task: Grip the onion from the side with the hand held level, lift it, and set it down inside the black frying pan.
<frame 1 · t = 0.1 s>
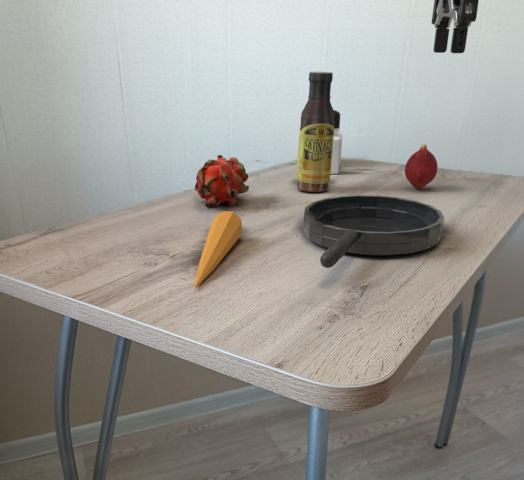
hand: (448, 52, 96), 22 cm above the table, tool pointing down, fingers open, 8 cm apart
pan: (370, 236, 79), on the table
carrot: (212, 262, 71), on the table
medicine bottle: (322, 171, 119), on the table
dragon fruit: (221, 205, 95), on the table
onion: (418, 190, 103), on the table
sauce bottle: (313, 190, 104), on the table
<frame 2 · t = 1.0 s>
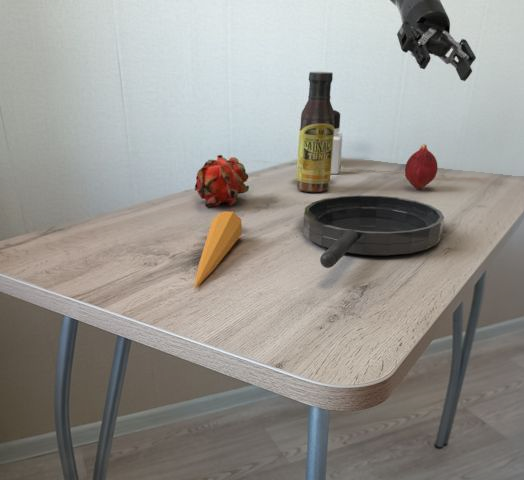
hand: (446, 70, 96), 20 cm above the table, tool tilted 60°, fingers open, 8 cm apart
nothing on the table moved.
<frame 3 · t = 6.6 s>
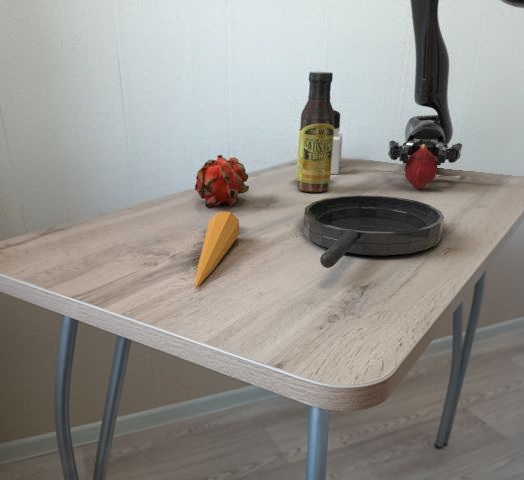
hand: (422, 158, 98), 6 cm above the table, tool horizontal, fingers closed on onion, 5 cm apart
onion: (418, 190, 103), on the table, touching gripper
everything else where it was.
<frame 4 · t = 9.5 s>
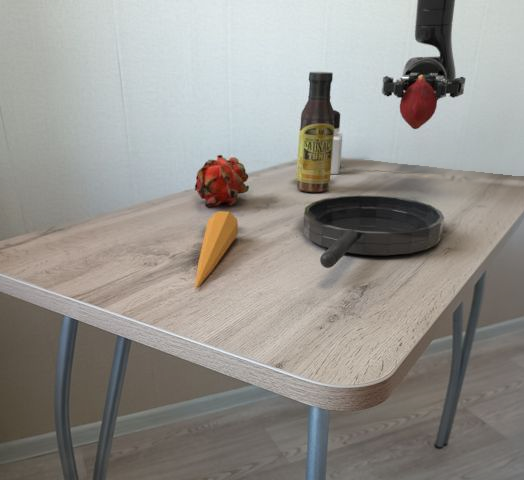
hand: (419, 90, 86), 18 cm above the table, tool horizontal, fingers closed on onion, 5 cm apart
onion: (415, 130, 91), point 11 cm above the table, touching gripper
everything else where it was.
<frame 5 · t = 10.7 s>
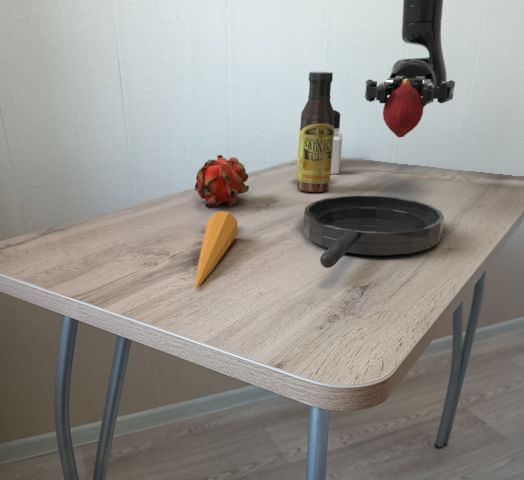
hand: (403, 95, 78), 18 cm above the table, tool horizontal, fingers closed on onion, 5 cm apart
onion: (400, 138, 84), point 11 cm above the table, touching gripper
everything else where it was.
when the fingers open (7 cm above the table, at t = 15.3 s): onion stays where it is, resting on pan.
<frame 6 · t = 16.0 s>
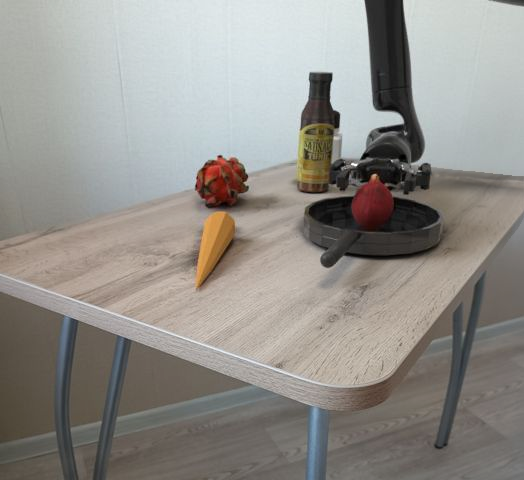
hand: (374, 185, 74), 8 cm above the table, tool horizontal, fingers open, 8 cm apart
onion: (369, 233, 79), resting on pan
everything else where it was.
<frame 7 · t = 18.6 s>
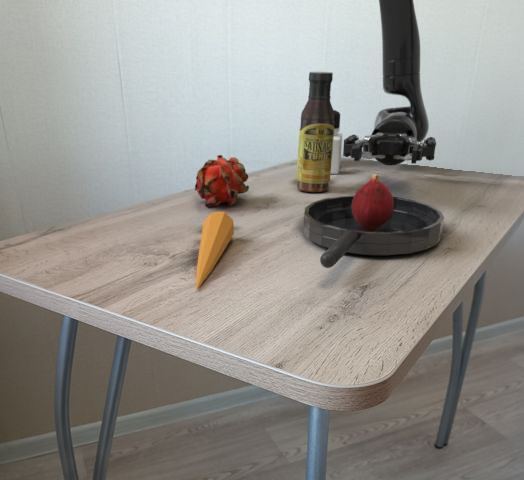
hand: (385, 155, 83), 9 cm above the table, tool horizontal, fingers open, 8 cm apart
nothing on the table moved.
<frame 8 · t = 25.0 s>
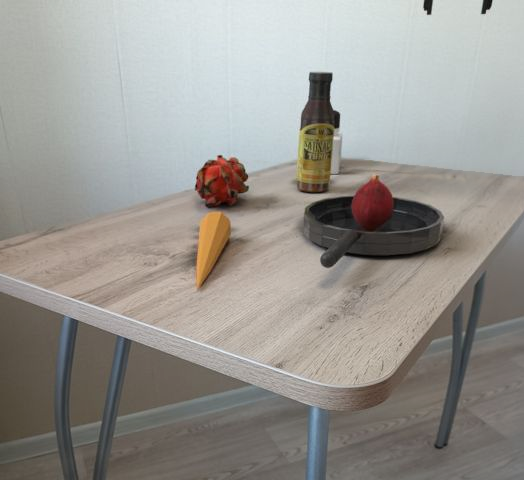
hand: (455, 14, 90), 28 cm above the table, tool pointing down, fingers open, 8 cm apart
nothing on the table moved.
at the end: onion inside the target area in the pan (0.1 cm from its centre), point 0.4 cm above the pan's base; the gripper is holding nothing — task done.
